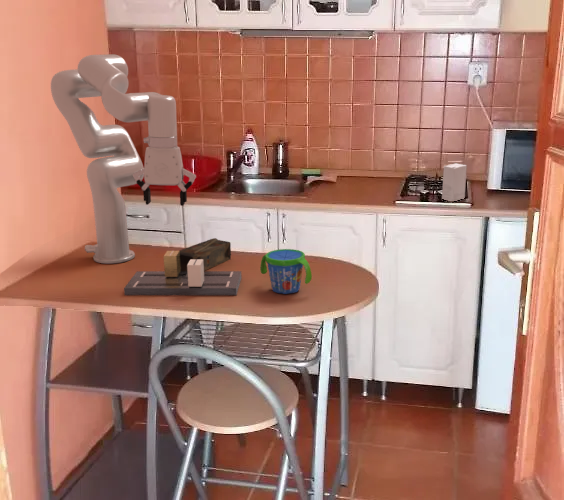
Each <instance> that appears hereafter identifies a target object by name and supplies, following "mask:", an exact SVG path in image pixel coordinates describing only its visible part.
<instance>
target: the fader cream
mask: <svg viewBox="0 0 564 500" xmlns="http://www.w3.org/2000/svg"><path fill="white" fill-rule="evenodd" d="M187 271H188V287H202V284H203V282H204V264H203V259H190V261H189V263H188V265H187Z"/></svg>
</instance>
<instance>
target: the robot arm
mask: <svg viewBox="0 0 564 500" xmlns="http://www.w3.org/2000/svg"><path fill="white" fill-rule="evenodd" d="M128 75H129V66H128V64H127V62H126V60H125V59H124V58H123V57H122V56H120V55H117V54H114V53H113V54H109V53H108V54H89V55H86V56H84V57H82V58H80V60H79V62H78V64H77V69H75V68H74V69H66V70H61V71H59V72H57V73H55V74H54V75H53V76H52V77H51V80H50V93H51V96H52V100H53V102H54V104H55V106H56V108H57V109H58V111H59V113H60V114H61V115H62V117H64V119H65V121H66V122H67V124H68V126H69V129H70V131H71V133H72V136H73V137H74V139H75V142H76V144H77V146H78V148H79V151H80V152H81V153H82V155H83V156H84V157H85V158H86V159H87V158H88V159H95V160H93V161H90V163H88V166H87V168H86V177H87V181H88V183H89V187H90V192H91V196H92V197H91V198H92V204H93V213H94V221H95V222H94V223H95V224H94V225H95V233H96V243H95V244H94V245H92V244H87V245H84V251H85V252H86V253H88V254H90V253H91V254H92V253H94V255H93V261H94V262H96V263H99V264H100V263H101V264H105V265H106V264H112V265H113V264H121V263H124V262H125V263H126V262H128V261H132V259H134V258H135V256H136V254H135V252H134V250H131V249H130V245H129V244H130V243H129V235H128V234H129V232H128V220H127V209H126V208H127V207H126V201H125V199H124V197H123V195H122V194H121V193H120V192H119V191H118V189H119V188H123V187H129V186H135V185H138V187H140V189H141V191H142V192H143V193H142V195H143V201H144V202H145V205H149V204H151V202H152V197H151V193H152V192H151V188H150V185H151V186H177V187H178V188H179V189H180V191H179V202H180V203H179V205H180V206H184V205H185V203H187V200H188V197H187V196H188V195H187V193H188V192H187V190H188V189H190V187H191V186H192V185H193V183H194V182H195V179H196V178H197V175H196V174H195V173H194V172H192V171H189V170H187V169H185V168H184V164H183V156H182V152H181V147H180V146H178V124H177V101H176V99H175V97H174V96H172V95H166V94H165V95H164V94H161V93H158V92H155V91H147V92H146V91H145V92H130V93H127V92H128V88H129V79H128ZM97 97H98V98H99V97H101V102H102V104H103V108H104V110H106V112H107V113H108V114H109V115H111V116H112V117H113V118H115V119H116V120H118V121H120V122H122V123H136V122H143V121H145V122H147V125H148V126H147V127H148V136H147V137H143V143H144V144H147V145H148V146H147V147H146V148H145V152H144V164H143V162H142V159H141V157H140V155H139V153H138V151H137V149H136V146H135V144H134V142H133V139H132V138H131V136H130V134H129V132H128V131H127V129H126V128H124V127H123V126H121V125H119V124H105V125H104V124H101V123H100V122H99V121H98V119H97V116H96V114H95V112H94V111H93V110H92V109H91V108H90V106H88V105H87V104H85V102H83V101H81V100H80V99H84V98H97ZM185 176H186V177H188V181H187V182H186V183H185V181H184V178H185ZM143 179H144V180H143Z"/></svg>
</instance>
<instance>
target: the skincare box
mask: <svg viewBox="0 0 564 500" xmlns="http://www.w3.org/2000/svg"><path fill="white" fill-rule="evenodd" d="M467 169H468V168H467V164H462V163H456V162H455V163H451V164H448V165H443V175H442V191H441V193H442V195H441V200H442V199H444V200H448V201H457V200H460V199H464V198H465V197H466V181H467ZM464 200H465V199H464ZM460 201H461V200H460ZM457 202H458V201H457Z"/></svg>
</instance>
